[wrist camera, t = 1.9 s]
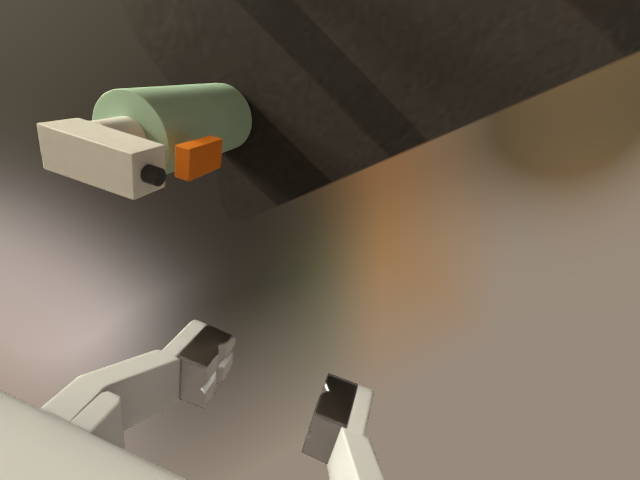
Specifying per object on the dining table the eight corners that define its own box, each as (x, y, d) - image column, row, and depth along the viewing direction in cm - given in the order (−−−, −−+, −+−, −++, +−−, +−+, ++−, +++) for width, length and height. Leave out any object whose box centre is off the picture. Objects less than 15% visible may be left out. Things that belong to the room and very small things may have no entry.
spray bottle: (282, 98, 37) (145, 124, 20) (272, 163, 41) (148, 233, 23) (197, 75, 39) (3, 80, 22) (194, 139, 42) (24, 188, 25)
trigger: (223, 138, 29) (189, 149, 25) (220, 167, 30) (188, 182, 26) (209, 134, 29) (174, 144, 25) (208, 163, 30) (174, 177, 26)
